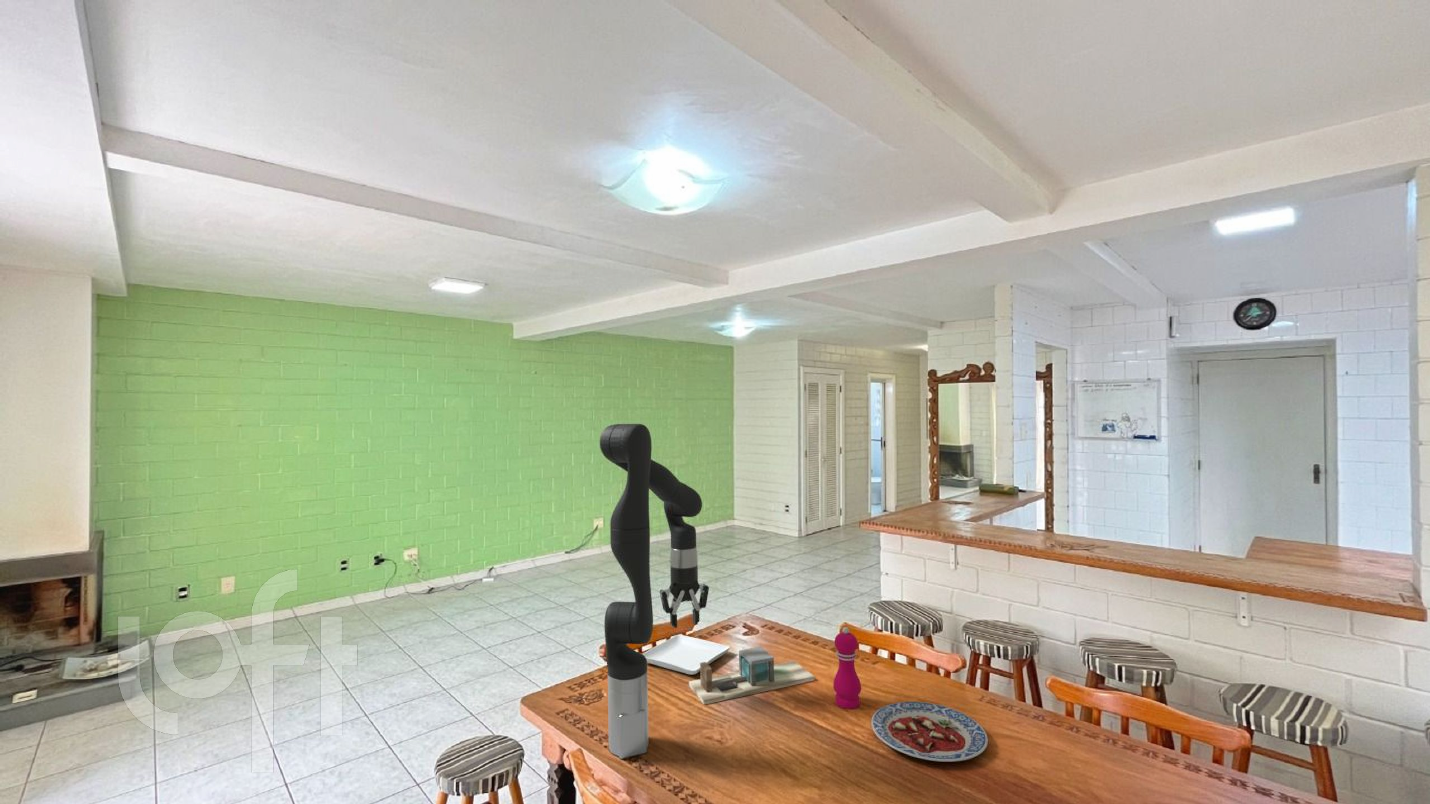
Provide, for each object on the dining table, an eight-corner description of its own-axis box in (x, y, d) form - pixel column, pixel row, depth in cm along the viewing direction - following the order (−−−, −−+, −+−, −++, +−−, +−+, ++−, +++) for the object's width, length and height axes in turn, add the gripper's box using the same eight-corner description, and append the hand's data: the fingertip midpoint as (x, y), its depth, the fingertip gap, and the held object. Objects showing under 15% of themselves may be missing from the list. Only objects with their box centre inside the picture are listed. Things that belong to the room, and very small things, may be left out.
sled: (768, 678, 167) (767, 657, 167) (706, 691, 160) (706, 669, 160) (760, 672, 171) (760, 651, 171) (700, 684, 164) (700, 662, 164)
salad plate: (732, 655, 187) (731, 644, 188) (695, 682, 169) (694, 670, 170) (678, 643, 199) (678, 633, 199) (638, 666, 181) (638, 655, 181)
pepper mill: (859, 697, 158) (857, 622, 158) (863, 710, 151) (861, 632, 151) (832, 696, 158) (830, 622, 159) (835, 709, 151) (833, 632, 152)
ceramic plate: (912, 780, 122) (912, 765, 122) (852, 719, 147) (851, 707, 147) (1014, 758, 129) (1014, 744, 129) (940, 703, 154) (939, 692, 154)
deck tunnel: (814, 680, 168) (813, 652, 168) (703, 704, 155) (703, 674, 156) (793, 664, 179) (792, 638, 179) (689, 685, 166) (688, 657, 167)
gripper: (662, 569, 155) (664, 634, 154) (713, 563, 160) (714, 626, 160) (654, 563, 161) (656, 625, 161) (703, 557, 167) (704, 617, 166)
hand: (685, 625), depth 160 cm, fingers open, 5 cm apart
